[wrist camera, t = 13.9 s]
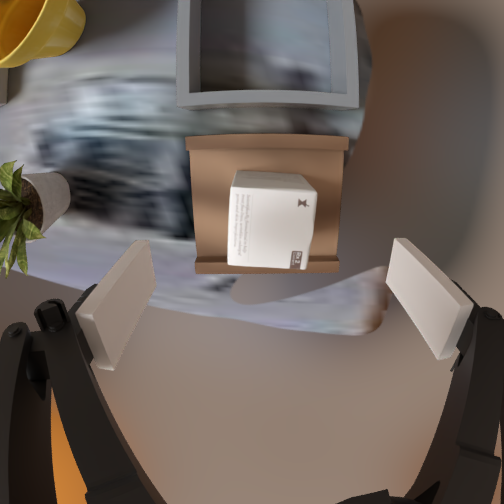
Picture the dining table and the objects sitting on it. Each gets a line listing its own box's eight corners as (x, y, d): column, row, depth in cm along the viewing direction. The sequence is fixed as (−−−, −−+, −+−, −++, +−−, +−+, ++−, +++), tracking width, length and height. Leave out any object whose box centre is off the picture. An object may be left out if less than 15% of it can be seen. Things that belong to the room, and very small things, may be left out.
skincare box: (235, 169, 26) (228, 184, 19) (302, 173, 26) (319, 190, 19) (233, 232, 28) (225, 266, 22) (296, 236, 28) (308, 271, 22)
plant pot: (95, 61, 22) (38, 45, 13) (27, 81, 22) (-31, 80, 13) (108, -17, 18) (63, -50, 9) (39, 9, 18) (-11, -7, 9)
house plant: (29, 108, 23) (-80, 124, 8) (118, 141, 26) (-1, 170, 11) (9, 215, 29) (-78, 269, 14) (86, 258, 31) (3, 344, 16)
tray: (191, 136, 26) (185, 136, 23) (341, 136, 25) (348, 137, 23) (199, 262, 31) (195, 273, 29) (332, 261, 31) (338, 272, 28)
